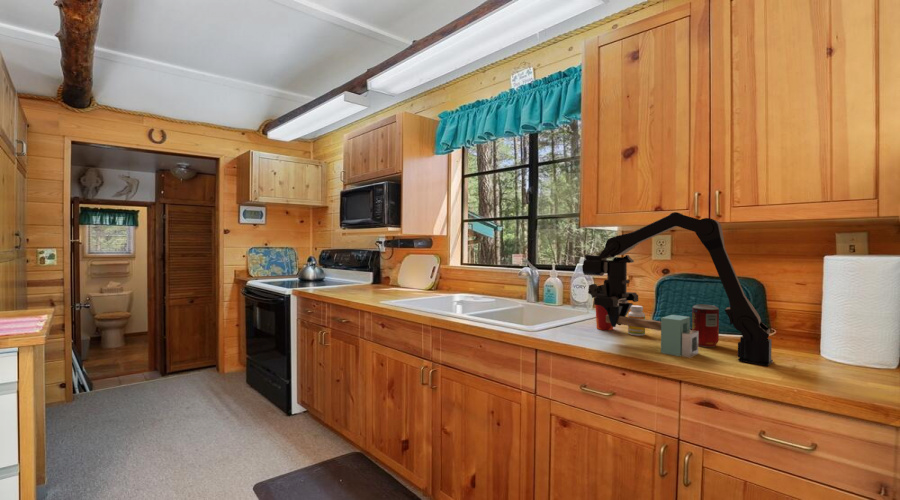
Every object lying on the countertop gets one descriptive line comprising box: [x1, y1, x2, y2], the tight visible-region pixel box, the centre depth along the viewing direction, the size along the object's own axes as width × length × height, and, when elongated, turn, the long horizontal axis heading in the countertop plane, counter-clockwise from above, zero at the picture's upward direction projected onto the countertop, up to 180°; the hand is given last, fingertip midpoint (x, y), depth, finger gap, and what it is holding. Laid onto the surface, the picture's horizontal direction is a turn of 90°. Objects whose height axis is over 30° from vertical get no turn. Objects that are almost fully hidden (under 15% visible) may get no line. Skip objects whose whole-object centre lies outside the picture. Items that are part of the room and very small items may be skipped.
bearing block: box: [660, 314, 691, 357], centre depth 121 cm, size 5×8×10 cm, turn 133°
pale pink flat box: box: [681, 329, 699, 358], centre depth 119 cm, size 2×6×6 cm, turn 133°
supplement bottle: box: [627, 304, 646, 337], centre depth 145 cm, size 5×5×10 cm
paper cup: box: [594, 305, 614, 331], centre depth 155 cm, size 8×8×14 cm
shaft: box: [606, 315, 661, 331], centre depth 129 cm, size 19×2×2 cm, turn 43°
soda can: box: [691, 303, 720, 348], centre depth 130 cm, size 7×7×12 cm
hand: (616, 325), depth 134 cm, fingers open, 4 cm apart
